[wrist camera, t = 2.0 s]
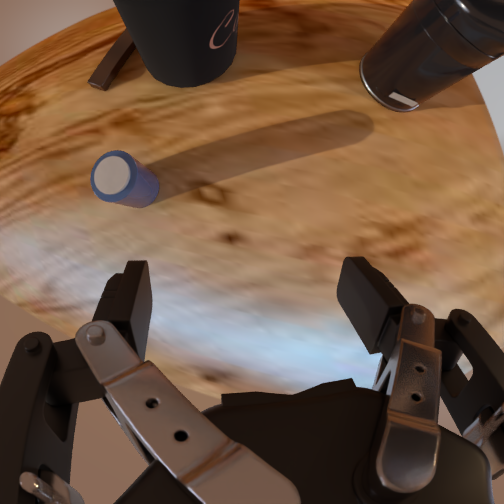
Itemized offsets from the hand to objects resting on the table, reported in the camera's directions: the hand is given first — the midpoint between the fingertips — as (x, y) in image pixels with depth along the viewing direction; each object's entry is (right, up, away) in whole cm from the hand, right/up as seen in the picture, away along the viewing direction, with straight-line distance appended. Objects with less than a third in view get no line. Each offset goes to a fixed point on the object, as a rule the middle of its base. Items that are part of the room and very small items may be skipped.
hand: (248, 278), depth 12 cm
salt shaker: (-12, +8, +19) cm, 23 cm away
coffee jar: (-7, +24, +18) cm, 31 cm away
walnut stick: (-16, +26, +17) cm, 34 cm away
